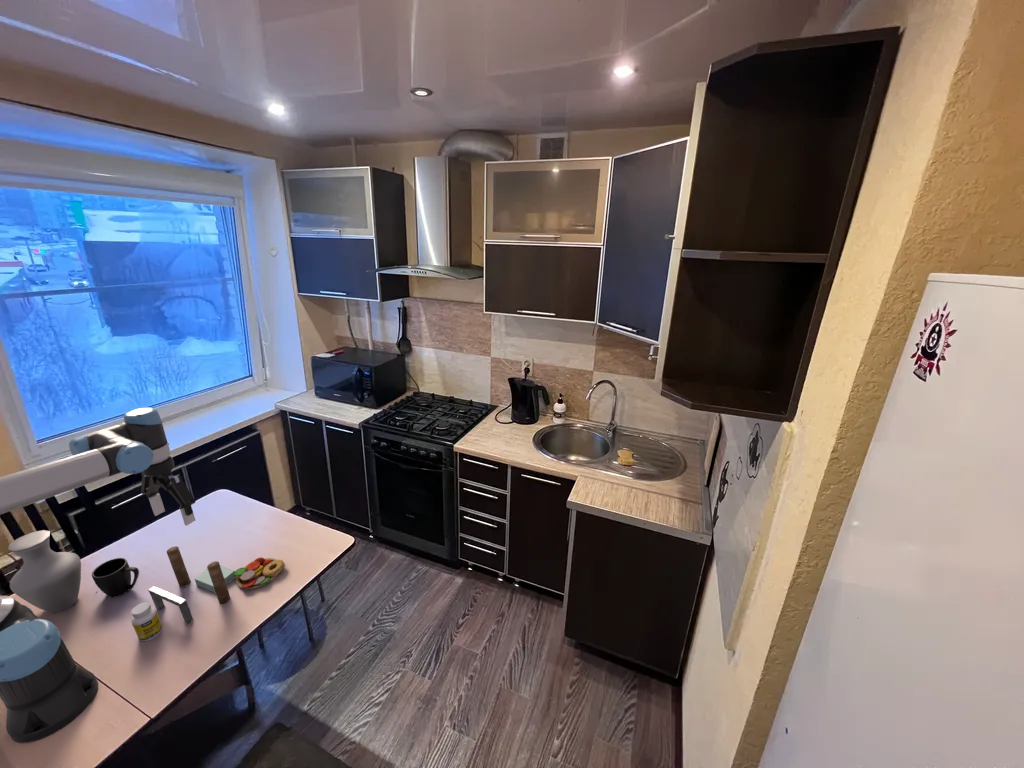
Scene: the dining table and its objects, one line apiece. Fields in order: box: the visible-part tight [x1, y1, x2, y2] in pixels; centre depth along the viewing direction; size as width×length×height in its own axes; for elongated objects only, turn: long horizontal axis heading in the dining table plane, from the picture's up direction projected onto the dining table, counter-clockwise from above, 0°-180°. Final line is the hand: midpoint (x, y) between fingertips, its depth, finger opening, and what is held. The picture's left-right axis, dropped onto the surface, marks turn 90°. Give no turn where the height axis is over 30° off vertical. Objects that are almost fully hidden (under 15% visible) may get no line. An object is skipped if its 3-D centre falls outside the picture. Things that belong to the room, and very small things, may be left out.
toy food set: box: [234, 557, 286, 590], centre depth 140 cm, size 13×13×3 cm
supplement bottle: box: [130, 601, 163, 642], centre depth 119 cm, size 5×5×10 cm
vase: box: [7, 529, 82, 614], centre depth 125 cm, size 14×14×25 cm
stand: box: [194, 565, 237, 593], centre depth 138 cm, size 7×9×2 cm
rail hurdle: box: [148, 585, 194, 625], centre depth 125 cm, size 2×14×8 cm, turn 70°
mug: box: [91, 557, 140, 598], centre depth 133 cm, size 8×12×10 cm
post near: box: [206, 560, 231, 605], centre depth 129 cm, size 3×3×14 cm
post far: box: [166, 546, 192, 588], centre depth 134 cm, size 3×3×14 cm
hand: (174, 518), depth 132 cm, fingers open, 13 cm apart
